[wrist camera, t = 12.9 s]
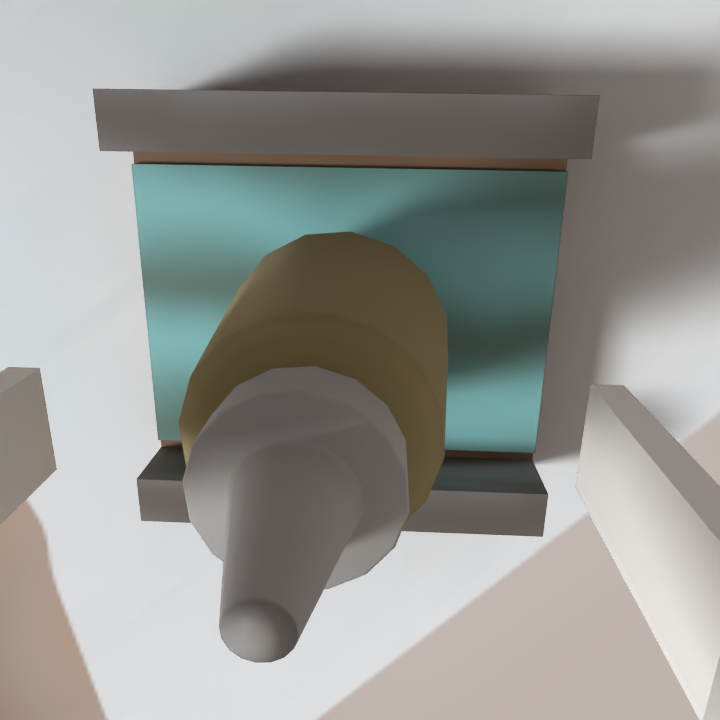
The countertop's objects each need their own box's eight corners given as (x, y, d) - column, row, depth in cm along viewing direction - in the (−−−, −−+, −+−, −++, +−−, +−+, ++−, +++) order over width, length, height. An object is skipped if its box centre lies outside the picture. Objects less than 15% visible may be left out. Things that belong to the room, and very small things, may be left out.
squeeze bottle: (457, 233, 25) (602, 414, 8) (425, 417, 27) (483, 857, 10) (256, 207, 25) (-39, 330, 8) (243, 393, 27) (2, 792, 10)
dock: (155, 101, 27) (92, 88, 21) (554, 107, 26) (599, 95, 21) (185, 455, 32) (141, 520, 27) (515, 467, 32) (542, 536, 26)
